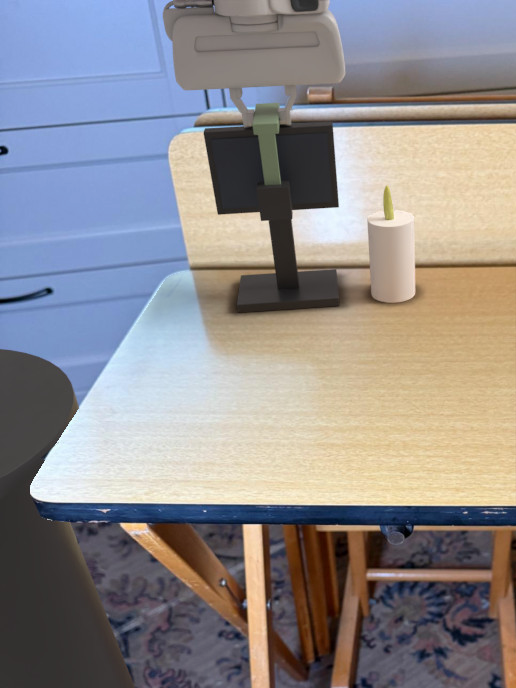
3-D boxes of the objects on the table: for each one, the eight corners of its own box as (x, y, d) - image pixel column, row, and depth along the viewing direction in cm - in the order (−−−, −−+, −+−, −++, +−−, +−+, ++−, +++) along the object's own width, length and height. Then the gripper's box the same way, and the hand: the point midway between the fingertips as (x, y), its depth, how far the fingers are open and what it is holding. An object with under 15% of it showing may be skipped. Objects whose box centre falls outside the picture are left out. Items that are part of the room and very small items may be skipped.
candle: (421, 285, 115) (420, 176, 105) (407, 304, 110) (405, 192, 100) (380, 281, 116) (375, 173, 106) (364, 299, 112) (358, 189, 102)
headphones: (260, 221, 101) (247, 126, 94) (264, 190, 110) (252, 101, 103) (292, 219, 101) (281, 124, 94) (293, 188, 110) (283, 100, 103)
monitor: (230, 313, 110) (200, 141, 95) (235, 283, 117) (207, 119, 103) (346, 305, 110) (333, 134, 96) (343, 276, 118) (331, 113, 103)
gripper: (155, 1, 87) (181, 137, 96) (341, -7, 88) (349, 128, 97) (162, -7, 92) (186, 123, 101) (339, -15, 93) (347, 115, 102)
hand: (268, 126), depth 99 cm, fingers closed on headphones, 3 cm apart
